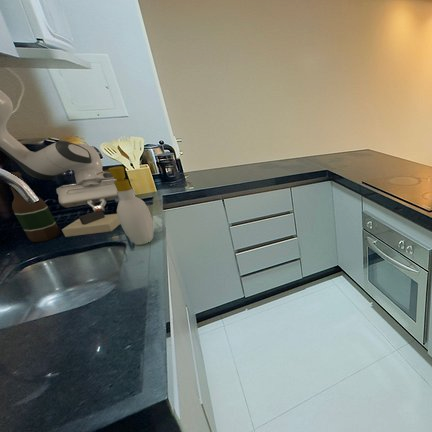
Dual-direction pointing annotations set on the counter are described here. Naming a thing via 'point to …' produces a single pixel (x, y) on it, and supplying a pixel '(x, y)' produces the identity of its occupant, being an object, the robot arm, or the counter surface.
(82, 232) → the beige flat block
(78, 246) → the counter surface
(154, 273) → the counter surface
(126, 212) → the soap bottle
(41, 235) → the beer bottle
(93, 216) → the dark brown bar
